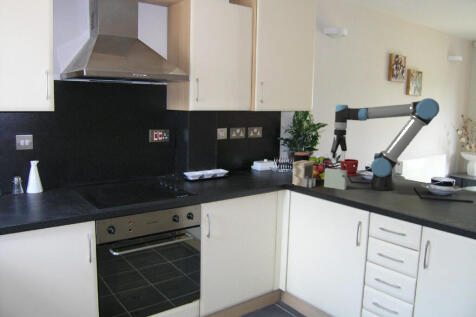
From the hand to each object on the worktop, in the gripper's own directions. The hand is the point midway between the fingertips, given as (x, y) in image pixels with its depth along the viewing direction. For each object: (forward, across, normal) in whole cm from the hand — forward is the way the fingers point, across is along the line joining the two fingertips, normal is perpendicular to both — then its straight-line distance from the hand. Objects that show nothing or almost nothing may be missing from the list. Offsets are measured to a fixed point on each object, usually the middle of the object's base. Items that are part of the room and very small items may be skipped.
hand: (338, 162), depth 253 cm
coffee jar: (+18, -17, -35) cm, 43 cm away
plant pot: (+17, -51, -12) cm, 55 cm away
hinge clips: (+17, +7, -16) cm, 24 cm away
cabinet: (+17, +3, -23) cm, 29 cm away
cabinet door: (+17, 0, -1) cm, 17 cm away
